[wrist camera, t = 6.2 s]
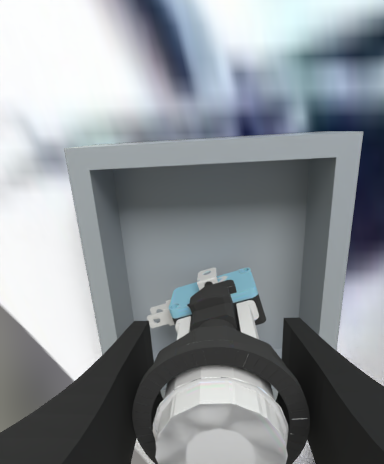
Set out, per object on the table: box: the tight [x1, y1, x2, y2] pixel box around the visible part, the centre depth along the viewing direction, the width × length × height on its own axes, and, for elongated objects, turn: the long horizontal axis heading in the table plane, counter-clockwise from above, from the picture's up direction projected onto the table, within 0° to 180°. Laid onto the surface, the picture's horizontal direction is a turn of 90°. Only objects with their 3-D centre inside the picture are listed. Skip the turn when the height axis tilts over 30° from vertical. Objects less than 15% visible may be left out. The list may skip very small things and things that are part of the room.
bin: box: [64, 131, 363, 401], centre depth 17 cm, size 13×15×4 cm
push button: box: [132, 268, 310, 464], centre depth 13 cm, size 7×5×10 cm
